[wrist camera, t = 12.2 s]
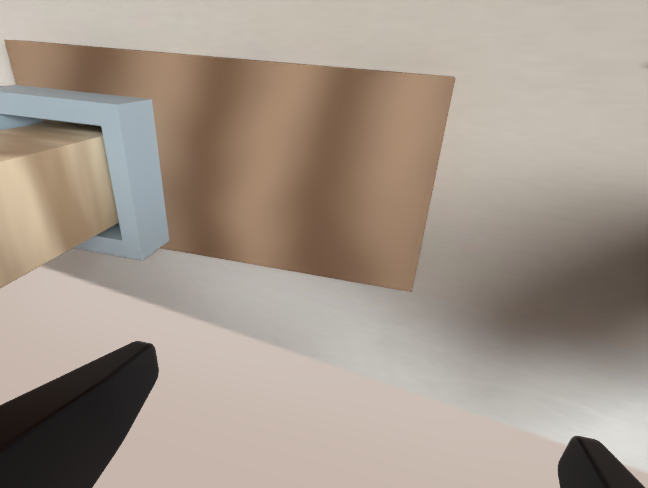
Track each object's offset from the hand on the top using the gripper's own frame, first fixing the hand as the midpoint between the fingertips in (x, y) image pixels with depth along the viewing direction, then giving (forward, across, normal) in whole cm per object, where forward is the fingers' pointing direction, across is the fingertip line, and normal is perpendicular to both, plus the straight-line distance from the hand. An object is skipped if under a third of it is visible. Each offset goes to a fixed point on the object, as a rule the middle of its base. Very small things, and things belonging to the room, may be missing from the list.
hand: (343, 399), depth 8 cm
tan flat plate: (+13, +9, -1) cm, 16 cm away
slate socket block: (+12, +16, 0) cm, 20 cm away
